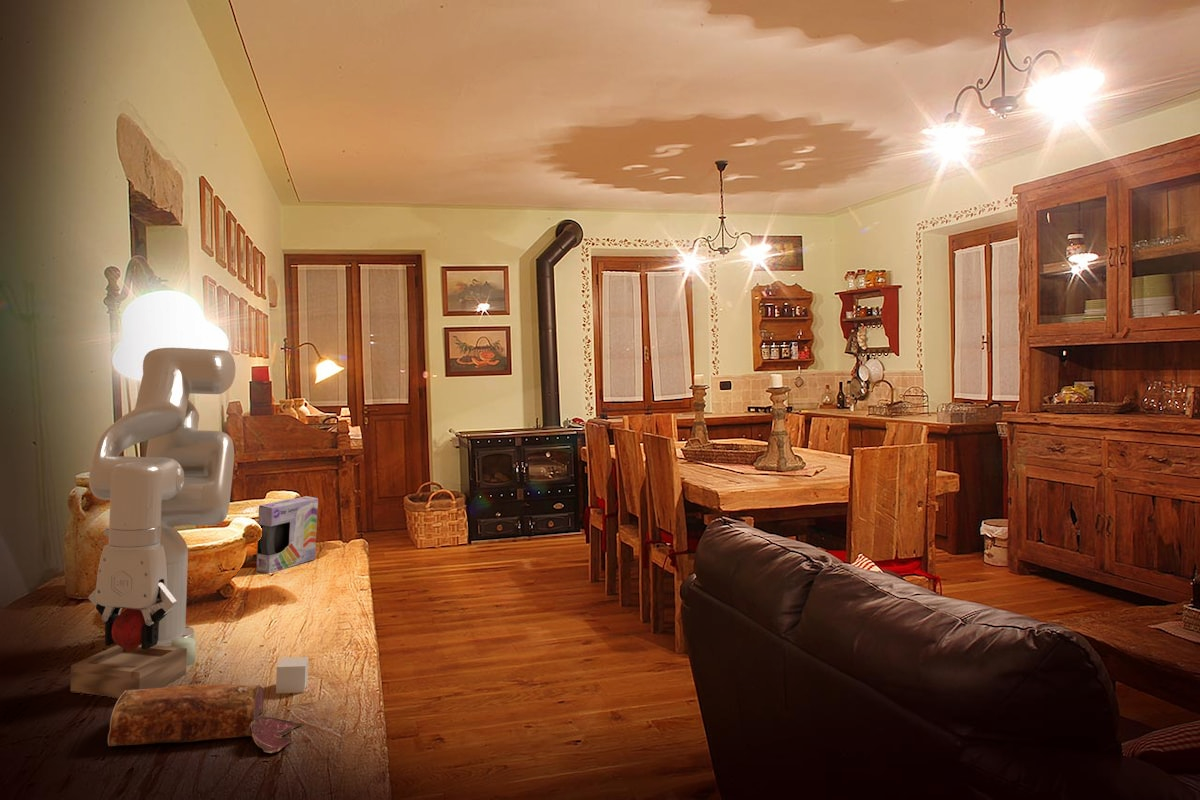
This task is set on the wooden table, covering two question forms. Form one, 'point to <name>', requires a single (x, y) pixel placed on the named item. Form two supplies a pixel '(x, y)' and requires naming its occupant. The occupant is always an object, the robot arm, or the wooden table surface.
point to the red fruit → (128, 629)
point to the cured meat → (196, 716)
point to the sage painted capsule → (186, 643)
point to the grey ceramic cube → (292, 675)
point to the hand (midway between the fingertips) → (131, 644)
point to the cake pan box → (287, 533)
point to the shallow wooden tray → (128, 670)
